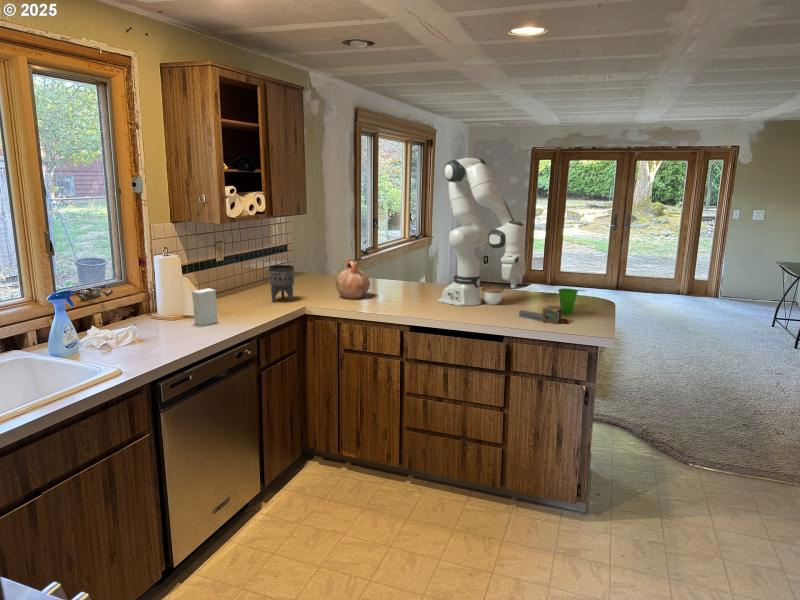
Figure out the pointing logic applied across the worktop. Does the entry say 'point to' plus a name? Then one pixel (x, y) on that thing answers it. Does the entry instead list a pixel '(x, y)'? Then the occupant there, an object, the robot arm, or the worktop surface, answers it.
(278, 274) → the planter
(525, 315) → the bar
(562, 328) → the worktop surface
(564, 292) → the cup
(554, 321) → the cover
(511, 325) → the worktop surface
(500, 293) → the lidded jar
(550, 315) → the block
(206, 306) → the skincare box
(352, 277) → the jug
